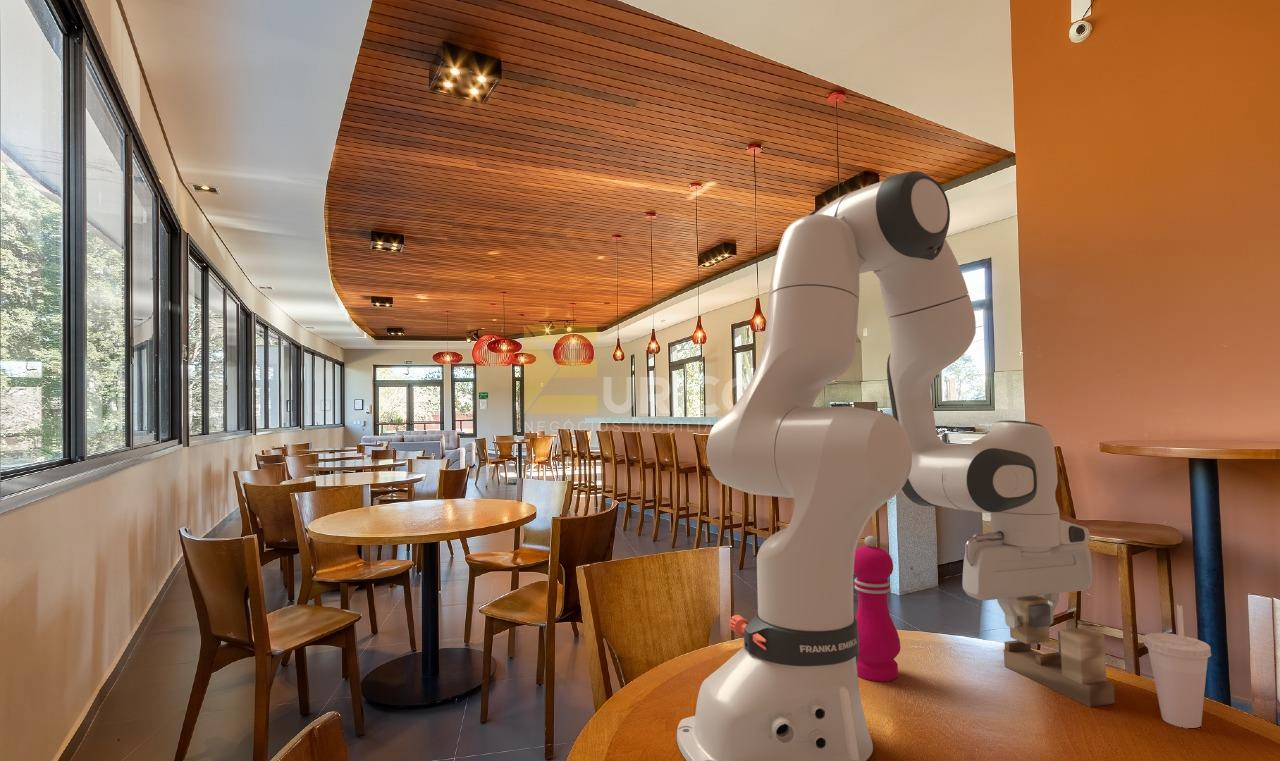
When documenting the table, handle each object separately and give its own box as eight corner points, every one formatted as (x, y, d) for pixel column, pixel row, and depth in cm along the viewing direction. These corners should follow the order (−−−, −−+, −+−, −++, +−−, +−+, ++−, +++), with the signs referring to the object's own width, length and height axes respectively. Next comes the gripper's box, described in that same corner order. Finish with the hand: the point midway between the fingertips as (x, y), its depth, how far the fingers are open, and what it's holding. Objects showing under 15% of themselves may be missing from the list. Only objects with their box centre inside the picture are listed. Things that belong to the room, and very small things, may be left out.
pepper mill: (893, 687, 89) (888, 542, 90) (842, 675, 94) (838, 537, 95) (907, 670, 95) (902, 534, 96) (858, 660, 99) (854, 530, 101)
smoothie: (1229, 736, 75) (1222, 614, 76) (1167, 731, 76) (1160, 611, 77) (1194, 711, 81) (1187, 599, 82) (1136, 707, 82) (1130, 597, 83)
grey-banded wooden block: (1031, 646, 92) (1029, 603, 92) (1010, 637, 95) (1008, 596, 96) (1054, 643, 93) (1052, 601, 93) (1032, 634, 96) (1030, 594, 97)
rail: (1090, 707, 83) (1086, 639, 83) (1004, 666, 96) (1001, 608, 97) (1114, 703, 84) (1111, 636, 84) (1026, 663, 97) (1023, 606, 98)
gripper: (982, 538, 90) (986, 639, 89) (1098, 529, 94) (1103, 625, 94) (950, 530, 96) (954, 624, 95) (1061, 522, 101) (1065, 612, 100)
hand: (1029, 624), depth 94 cm, fingers closed on grey-banded wooden block, 4 cm apart
